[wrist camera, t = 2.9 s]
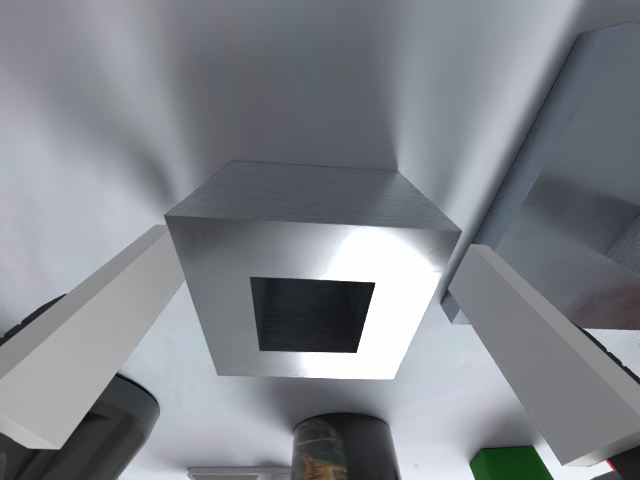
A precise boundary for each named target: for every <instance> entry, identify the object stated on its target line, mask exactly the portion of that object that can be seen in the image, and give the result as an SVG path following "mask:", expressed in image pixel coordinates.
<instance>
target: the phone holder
mask: <svg viewBox="0 0 640 480" xmlns="http://www.w3.org/2000/svg"><path fill="white" fill-rule="evenodd" d="M291 468H292V467H193V468H190V469H189V472H188V475H187V476H188V477H189V478H190V479H191V480H291Z"/></svg>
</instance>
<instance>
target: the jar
mask: <svg viewBox="0 0 640 480" xmlns="http://www.w3.org/2000/svg"><path fill="white" fill-rule="evenodd" d="M291 480H402V479H401V475H400V470H399V466H398V461H397V457H396V452H395V448H394V443H393V439H392V435H391V431H390V428H389V426H388V425H387V424H386V423H384V422H383V421H381V420H379V419H376V418H373V417H369V416H365V415H358V414H330V415H323V416H319V417H315V418H311V419H309V420H306V421H304V422H302V423H301V424H300V425H298V426H297V427H296V429H295V432H294V441H293V454H292V468H291Z"/></svg>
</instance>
